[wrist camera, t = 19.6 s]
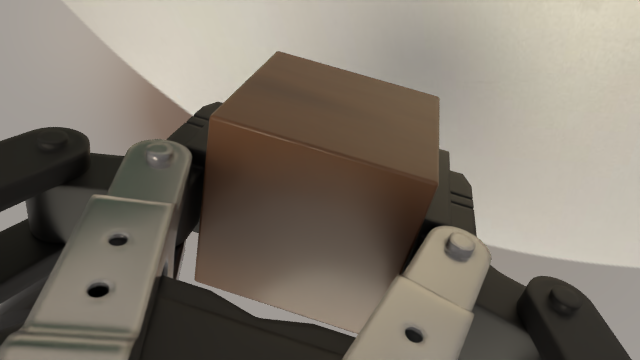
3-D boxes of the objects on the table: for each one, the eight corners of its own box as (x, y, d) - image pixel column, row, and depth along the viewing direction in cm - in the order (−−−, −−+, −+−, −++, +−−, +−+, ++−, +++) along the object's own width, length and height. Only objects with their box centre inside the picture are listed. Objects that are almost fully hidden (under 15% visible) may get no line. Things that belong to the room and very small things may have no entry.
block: (390, 227, 15) (373, 340, 11) (254, 185, 15) (192, 281, 11) (440, 96, 12) (440, 183, 9) (276, 49, 13) (208, 114, 9)
